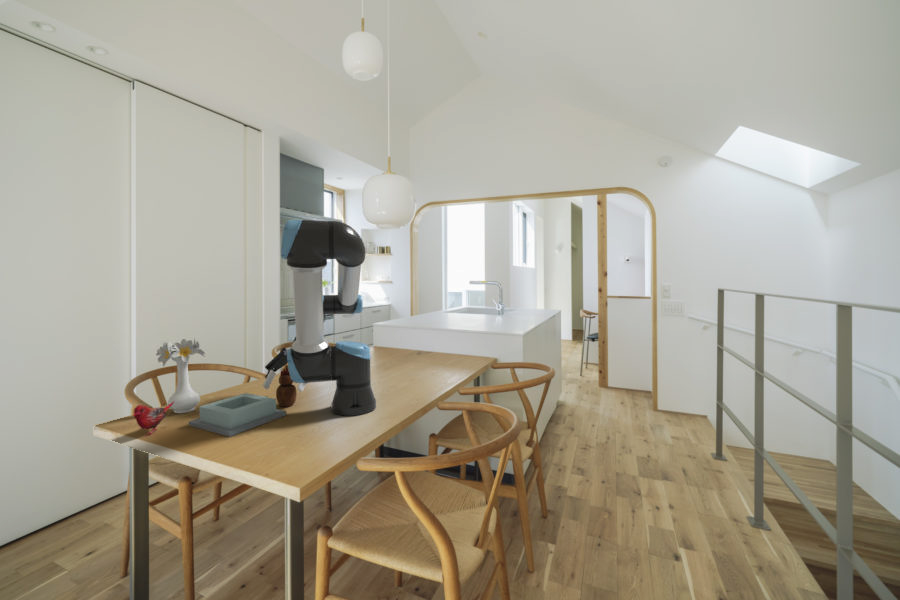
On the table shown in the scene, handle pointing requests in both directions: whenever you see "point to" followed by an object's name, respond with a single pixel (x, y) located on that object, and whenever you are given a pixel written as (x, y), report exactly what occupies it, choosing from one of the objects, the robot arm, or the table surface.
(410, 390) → the table surface
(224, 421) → the collar stand
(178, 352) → the flower vase
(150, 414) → the decorative bird figurine
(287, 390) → the wooden figurine
